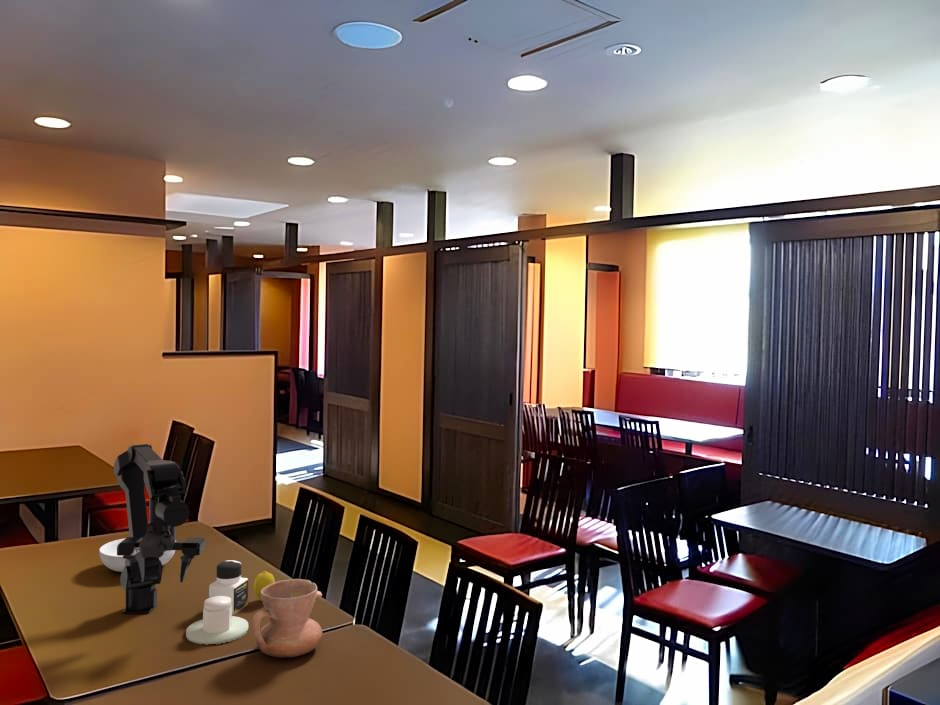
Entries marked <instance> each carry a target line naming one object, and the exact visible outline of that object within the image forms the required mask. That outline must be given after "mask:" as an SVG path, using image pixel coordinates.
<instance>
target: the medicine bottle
mask: <svg viewBox="0 0 940 705" xmlns="http://www.w3.org/2000/svg"><path fill="white" fill-rule="evenodd" d="M215 596H227V597H230V598H231V605H232V616H235V614H237V613H239V612H240V611H241V610H243V609H244V608H245V607H246V606H248V604H249V579H248V578H247V577H242V563H241V562H240V561H237V560H234V559H233V560H232V559H231V560H224V561H221V562H219V563H218V564H217V565H216V580H215V581H213V582H211V583H210V584H209V586H208V598H211V597H215Z"/></svg>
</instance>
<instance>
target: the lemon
mask: <svg viewBox="0 0 940 705" xmlns="http://www.w3.org/2000/svg"><path fill="white" fill-rule="evenodd" d="M275 582H276V580H275V577H274V575H273V573H270V572H268V571H266V570H263V571H262V572H260V573H259V574H258V575H256V577H255V578H254V582H253V591H254V592H253V593H254V595H255V597H257V598H258V599H260V600H262V597H261V590H262V589H263V588H264V587H266V586H268V585H270V584H272V583H275Z"/></svg>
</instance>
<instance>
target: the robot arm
mask: <svg viewBox="0 0 940 705" xmlns="http://www.w3.org/2000/svg"><path fill="white" fill-rule="evenodd" d="M128 446H129V445H128ZM113 474H114V476H116V481H117V485H118V486H119V487H120V488H121V489H122V490H123V491H124V493H125V494H124V495H125V503H126V513H127V522H128V533H129V534H128V535H129V536H128V537H126V539H124V538H123V539H124V540H123V541H122V542H120V543H119V544H118V546H117V555H118V556H123V558H124V559H126V560H125V567H124V569H123V571H122V572H121V573H120V576H119V582H120V586H121V588H122V589H123V591H125V608H124V609H122V614H150V613H151V612H152V610H153V609H154V608H156V606H157V605H158V589H157V588H156V585H160V584H161V581H162V576H163V570H164V565H162V563H161V561H160V560H159V557H161V556H163V554H164V551H171V550H175V551H181V553H182V555H181V556H180V561H181V563H180V565H181V566H180V574H179V575H180V576H179V580H180V581H179V582H180V583H184V581H185V579H186V575H187V573H188V570H189V567H190V565H191V563H192V561H193V559H195V558H196V557H197V556H200V555H201V554H202V553H203V552H204V551H205V550H206V548H207V541H206V539H205V537H204V536H203V537H201V536H199V537H197V536H196V537H195V536H190V537H188V538H187V539H185V540H184V541H177V539H178V537H177V536H178V535H177V534H176V528H177V527H180V526H183V524H185V523H186V522H187V521H188V519H189V516H190V508H189V506H188V505H187V503H186V502H184V501H182V498H181V497H182V496H181V495H183V494H186V493H187V492H186V488H187V483H186V479H185V476H184V473H183V470H182V469H181V467H180V466H179V465H178V463H176V462H175V461H172V460H165V459H162V457H161V456H160V455H158V453H157V452H156V451H154V450H153V446H152V444H148V443H141V444H132V445H130V446H129V447H128V449H127V450H125V451H124V452H122V453H121V454H119V455H118V456H117V457H116V458H115V461H114V463H113ZM145 489H146V490H145ZM146 492H147V495H148V497H149V498H148V499H149V500H148V501H149V504H148V505H149V509H147V499H146ZM148 510H149V511H148ZM148 512H149V513H148ZM148 514H149V515H148ZM148 516H149V517H148ZM148 519H149V520H148ZM175 541H176V542H175Z"/></svg>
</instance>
